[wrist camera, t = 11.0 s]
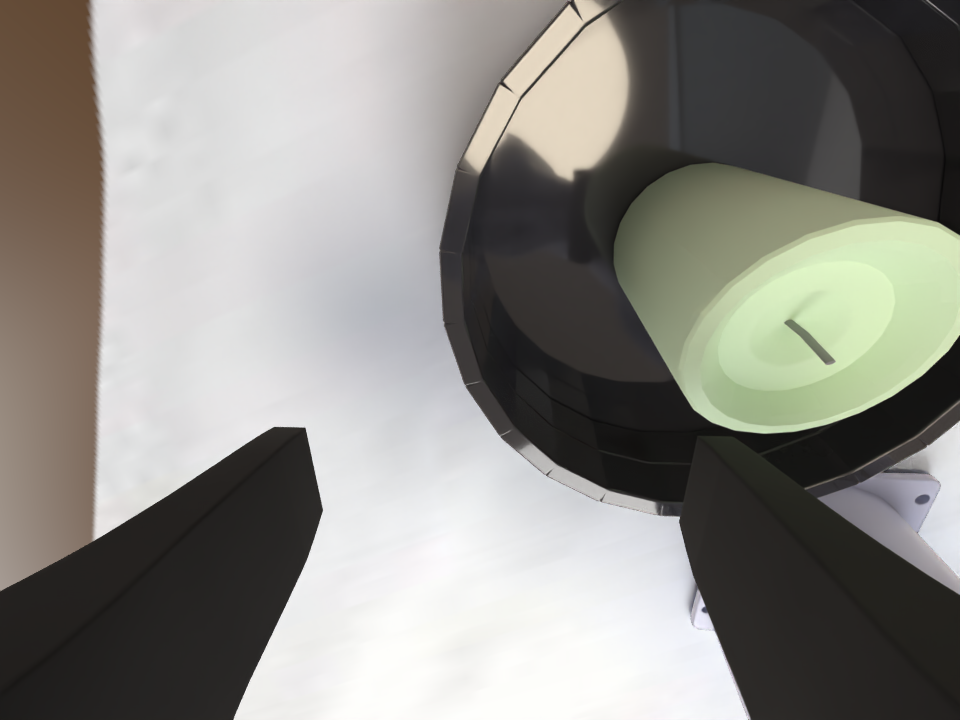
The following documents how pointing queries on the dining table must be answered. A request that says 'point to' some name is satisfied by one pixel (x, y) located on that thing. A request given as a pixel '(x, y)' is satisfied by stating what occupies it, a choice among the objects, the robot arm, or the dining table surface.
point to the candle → (785, 295)
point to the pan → (644, 159)
